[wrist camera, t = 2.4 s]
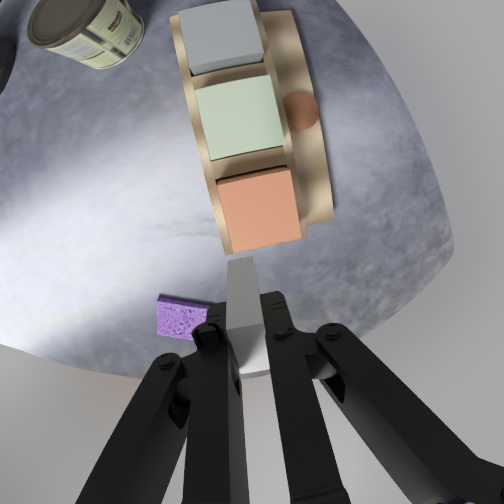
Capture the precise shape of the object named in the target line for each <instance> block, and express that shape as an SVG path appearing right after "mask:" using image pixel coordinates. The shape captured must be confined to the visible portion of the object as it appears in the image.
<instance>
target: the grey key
mask: <svg viewBox="0 0 504 504" xmlns="http://www.w3.org/2000/svg"><path fill="white" fill-rule="evenodd" d="M178 16H179V21H180V26H181V31H182V35H183V40H184V45H185V49H186V54H187V59H188V63H189V68H190V69H191V71H192V73H193V75H194V76H198V75H202V74H206V73H210V72H215V71H219V70H224V69H229V68H234V67H239V66H245V65H251V64H257V63H260V62H261V59H262V57H263V54H264V50H263V46H262V42H261V38H260V35H259V31H258V28H257V24H256V20H255V17H254V14H253V10H252V7H251V3H250V0H229V1H223V2H217V3H212V4H207V5H203V6H198V7H194V8H190V9H186V10H182V11H178Z"/></svg>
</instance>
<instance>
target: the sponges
mask: <svg viewBox="0 0 504 504" xmlns="http://www.w3.org/2000/svg"><path fill="white" fill-rule="evenodd" d="M209 307H210V306H209V305H203V304H196V303H190V302H184V301H178V300H172V299H168V298H160V299H159V298H158V299H157V332H158V333H157V334H160V335H164V336H170V337H177V338H183V339H184V338H186V339H189V340H194V339H193V337H192V334H191V333H192V330H193V329H194V328H195V327H196V326H197V325H199V324H201V323H204V322H205V321H206V314H207V310H208V308H209Z"/></svg>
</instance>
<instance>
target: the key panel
mask: <svg viewBox="0 0 504 504" xmlns="http://www.w3.org/2000/svg"><path fill="white" fill-rule="evenodd" d="M250 3H251V7H252V10H253V14H254V17H255V20H256V24H257V28H258V31H259V35H260V38H261V42H262V46H263V50H264V54H263V57H262V59H261V62H260V63H257V64H251V65H245V66H239V67H234V68H229V69H224V70H219V71H215V72H210V73H206V74H202V75H198V76H194V75H193V73H192V71H191V69H190V68H189V63H188V59H187V54H186V49H185V45H184V40H183V35H182V31H181V26H180V21H179V16H178V15H175V16H172V17H169V18H170V23H171V28H172V33H173V38H174V43H175V48H176V53H177V58H178V63H179V67H180V72H181V77H182V81H183V86H184V90H185V95H186V99H187V104H188V108H189V113H190V117H191V121H192V126H193V130H194V134H195V138H196V143H197V147H198V151H199V155H200V159H201V163H202V167H203V171H204V175H205V179H206V183H207V187H208V191H209V195H210V199H211V203H212V207H213V211H214V215H215V218H216V222H217V226H218V230H219V234H220V237H221V241H222V245H223V248H224V252H225V255H229V254H234V252H233V248H232V244H231V240H230V236H229V232H228V228H227V224H226V220H225V216H224V212H223V208H222V204H221V200H220V196H219V192H218V188H217V184H218V181H219V179H221V178H225V177H229V176H234V175H238V174H243V173H247V172H252V171H257V170H262V169H266V168H272V167H277V166H283V167H285V168H287V169H289V170H290V172H291V177H292V183H293V189H294V194H295V200H296V206H297V212H298V219H299V225H300V231H301V238H306V237H307V231H306V225H311V224H315V223H320V222H325V221H330V220H334V210H333V202H332V194H331V187H330V179H329V173H328V166H327V160H326V154H325V148H324V142H323V136H322V131H321V126H320V121H319V106H318V104H317V102H316V100H315V97H314V92H313V88H312V84H311V79H310V75H309V71H308V67H307V63H306V59H305V56H304V52H303V48H302V45H301V41H300V38H299V34H298V31H297V28H296V24H295V21H294V18H293V15H292V12H291V10H284V11H270V12H260V11H259V8H258V5H257V2H256V0H251V1H250ZM266 75H270V78H271V82H272V86H273V90H274V95H275V99H276V103H277V108H278V112H279V117H280V122H281V126H282V131H283V136H284V141H285V145H281V146H275V147H270V148H265V149H260V150H255V151H250V152H245V153H240V154H236V155H231V156H227V157H223V158H219V159H215V160H211V159H210V155H209V151H208V147H207V143H206V138H205V134H204V130H203V126H202V121H201V117H200V113H199V108H198V104H197V99H196V95H195V91H194V90H197V89H201V88H205V87H209V86H213V85H217V84H222V83H226V82H231V81H236V80H242V79H247V78H253V77H259V76H266ZM301 238H300V239H301ZM295 240H297V239H295ZM291 241H292V240H291ZM286 242H288V241H286ZM282 243H283V242H282ZM277 244H279V243H277ZM273 245H274V244H273ZM268 246H270V245H268ZM264 247H265V246H264ZM259 248H261V247H259ZM255 249H256V248H255ZM250 250H252V249H250ZM246 251H247V250H246ZM241 252H243V251H241ZM237 253H238V252H237Z"/></svg>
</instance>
